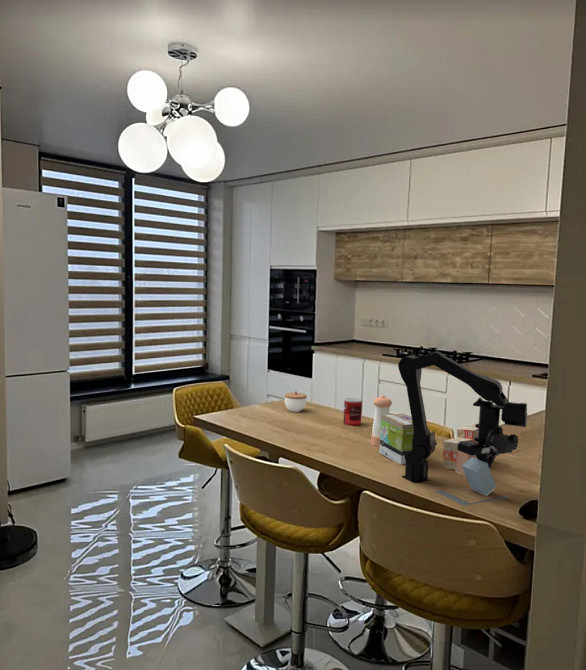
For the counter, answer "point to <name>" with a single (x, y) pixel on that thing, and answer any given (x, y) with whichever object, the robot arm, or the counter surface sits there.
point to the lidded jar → (295, 401)
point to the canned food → (352, 411)
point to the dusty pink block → (462, 461)
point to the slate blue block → (479, 476)
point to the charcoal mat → (463, 500)
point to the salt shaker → (379, 417)
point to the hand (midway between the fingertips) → (485, 473)
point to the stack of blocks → (452, 445)
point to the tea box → (396, 436)
